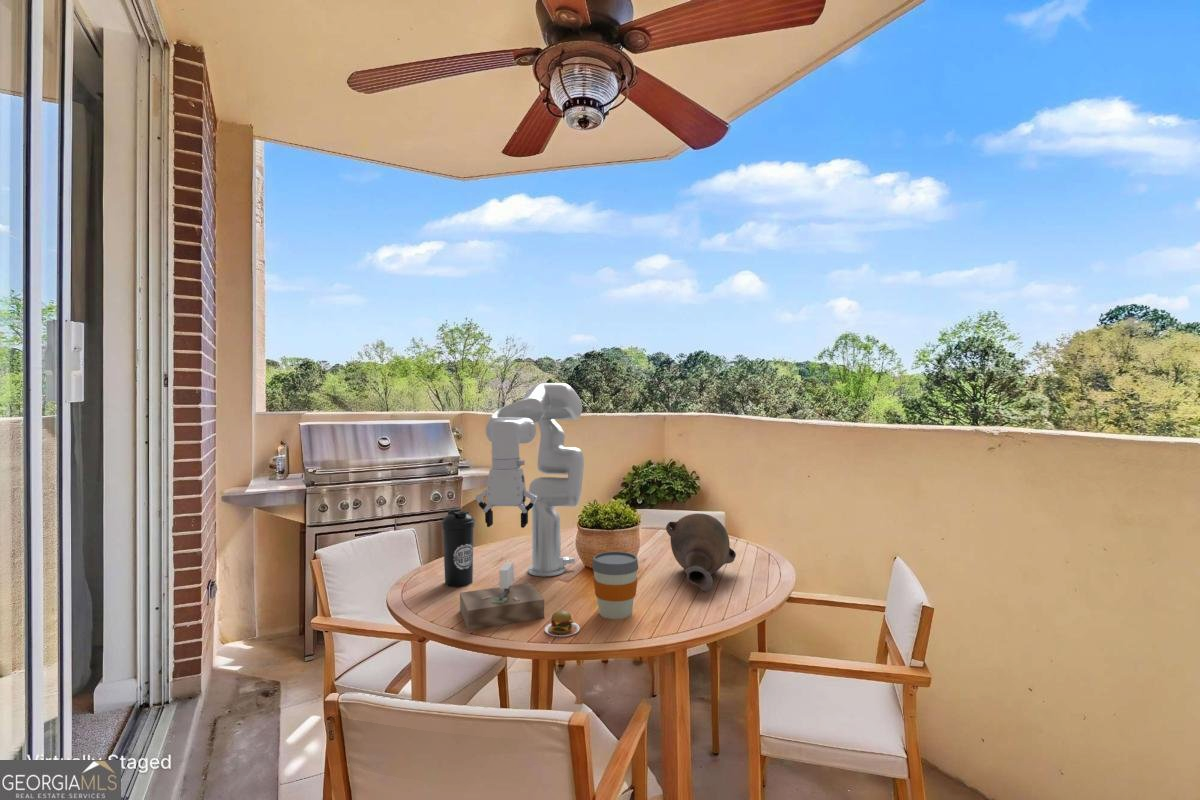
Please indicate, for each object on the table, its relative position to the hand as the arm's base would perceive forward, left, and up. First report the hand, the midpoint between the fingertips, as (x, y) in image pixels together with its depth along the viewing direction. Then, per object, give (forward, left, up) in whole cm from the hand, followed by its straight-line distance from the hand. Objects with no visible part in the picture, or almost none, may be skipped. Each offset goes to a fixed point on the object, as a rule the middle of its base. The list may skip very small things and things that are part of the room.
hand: (506, 526), depth 155 cm
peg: (+1, +2, -18) cm, 18 cm away
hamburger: (-10, +18, -24) cm, 32 cm away
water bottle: (+9, -29, -24) cm, 38 cm away
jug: (-63, -2, -24) cm, 67 cm away
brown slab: (+2, +2, -23) cm, 23 cm away
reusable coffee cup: (-27, +13, -24) cm, 38 cm away
